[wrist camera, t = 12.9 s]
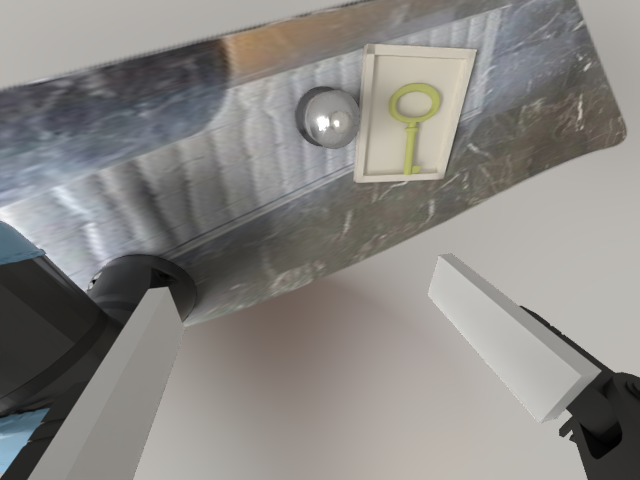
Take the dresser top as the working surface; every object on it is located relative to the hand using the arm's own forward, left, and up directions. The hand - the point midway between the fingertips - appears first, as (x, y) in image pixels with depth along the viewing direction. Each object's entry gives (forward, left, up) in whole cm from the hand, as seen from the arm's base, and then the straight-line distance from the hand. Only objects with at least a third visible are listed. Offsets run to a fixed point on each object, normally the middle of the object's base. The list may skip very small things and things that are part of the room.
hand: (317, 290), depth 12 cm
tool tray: (+18, +6, -28) cm, 34 cm away
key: (+18, +5, -27) cm, 33 cm away
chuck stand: (+5, +7, -28) cm, 29 cm away
